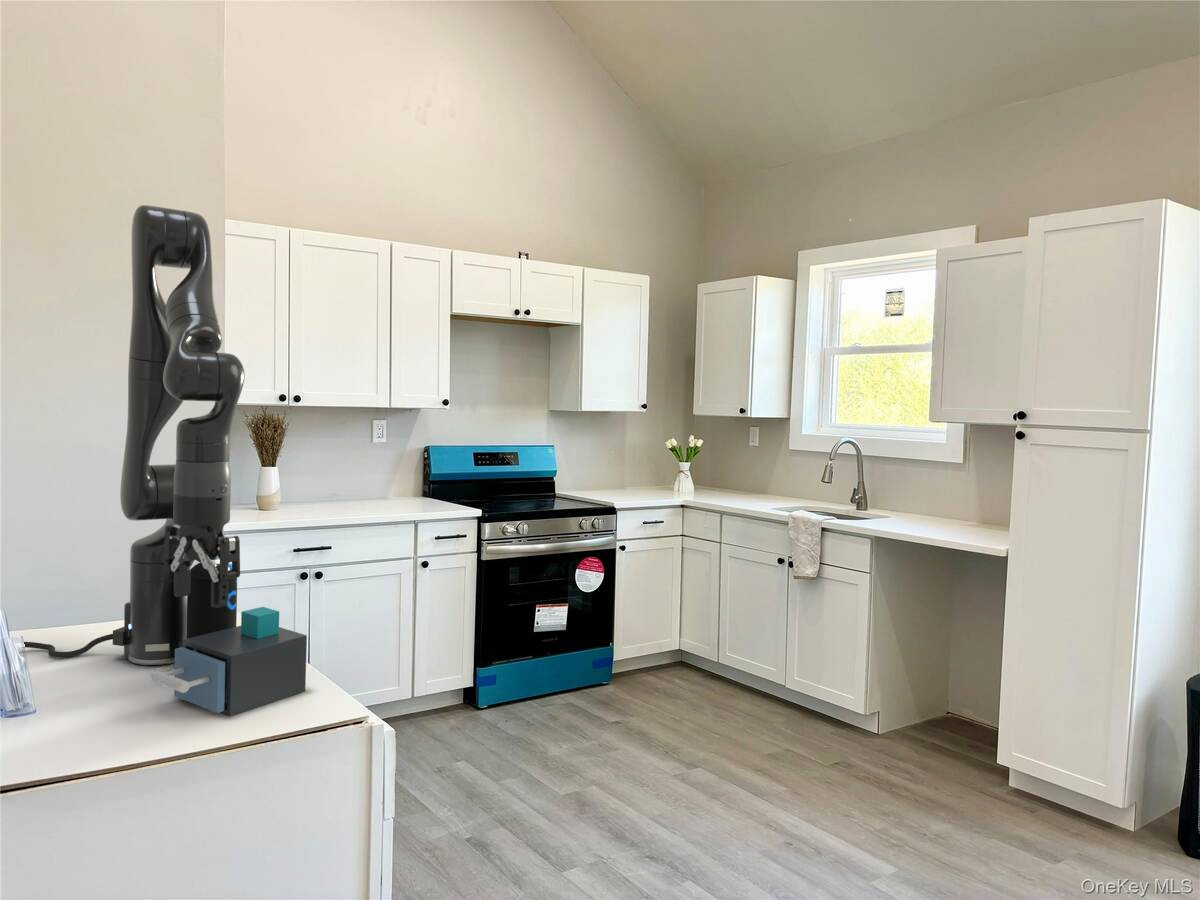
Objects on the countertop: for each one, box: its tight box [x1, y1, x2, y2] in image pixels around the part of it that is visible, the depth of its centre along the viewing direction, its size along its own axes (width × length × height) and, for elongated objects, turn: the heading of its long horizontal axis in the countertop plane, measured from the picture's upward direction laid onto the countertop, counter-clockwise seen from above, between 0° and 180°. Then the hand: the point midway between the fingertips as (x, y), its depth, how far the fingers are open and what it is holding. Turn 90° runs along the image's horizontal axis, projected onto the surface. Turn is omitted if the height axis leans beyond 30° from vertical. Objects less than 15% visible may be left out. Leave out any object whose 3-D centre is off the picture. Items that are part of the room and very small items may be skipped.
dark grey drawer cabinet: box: [183, 625, 308, 717], centre depth 138 cm, size 14×12×9 cm
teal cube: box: [240, 606, 280, 639], centre depth 140 cm, size 4×4×4 cm
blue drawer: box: [150, 647, 228, 714], centre depth 134 cm, size 17×10×7 cm, turn 148°
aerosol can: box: [187, 556, 238, 639], centre depth 150 cm, size 8×8×20 cm
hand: (200, 601), depth 130 cm, fingers open, 8 cm apart
